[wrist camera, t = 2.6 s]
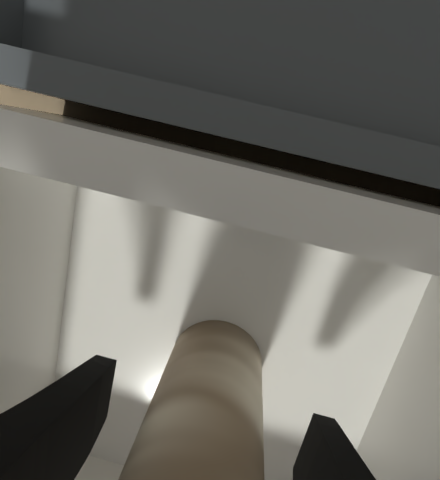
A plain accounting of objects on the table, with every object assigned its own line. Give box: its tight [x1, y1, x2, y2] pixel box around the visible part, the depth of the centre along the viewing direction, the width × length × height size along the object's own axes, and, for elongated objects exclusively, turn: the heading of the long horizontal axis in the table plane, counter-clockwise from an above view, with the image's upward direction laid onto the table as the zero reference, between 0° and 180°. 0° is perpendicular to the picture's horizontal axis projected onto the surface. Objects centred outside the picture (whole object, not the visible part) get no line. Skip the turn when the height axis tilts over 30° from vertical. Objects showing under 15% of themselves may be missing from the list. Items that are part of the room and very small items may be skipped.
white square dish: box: [0, 104, 440, 480], centre depth 11 cm, size 14×14×4 cm
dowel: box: [118, 320, 264, 480], centre depth 9 cm, size 3×3×8 cm
